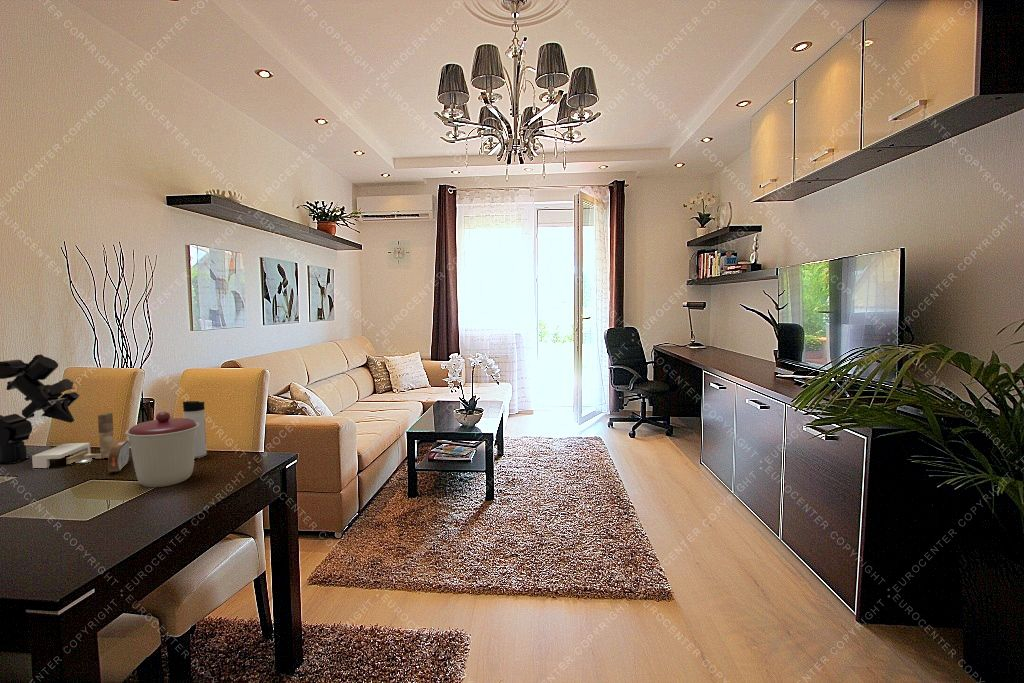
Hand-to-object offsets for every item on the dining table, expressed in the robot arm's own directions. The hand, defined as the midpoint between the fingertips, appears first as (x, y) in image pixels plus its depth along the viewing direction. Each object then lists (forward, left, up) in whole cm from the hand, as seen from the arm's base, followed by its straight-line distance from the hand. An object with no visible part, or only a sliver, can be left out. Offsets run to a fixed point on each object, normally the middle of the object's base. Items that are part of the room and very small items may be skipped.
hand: (72, 421), depth 170 cm
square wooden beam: (+7, -3, -13) cm, 15 cm away
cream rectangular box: (-2, -3, -13) cm, 13 cm away
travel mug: (+39, -3, -13) cm, 41 cm away
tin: (+21, -12, -13) cm, 27 cm away
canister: (+42, -27, -13) cm, 51 cm away
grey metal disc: (+6, -5, -13) cm, 15 cm away
